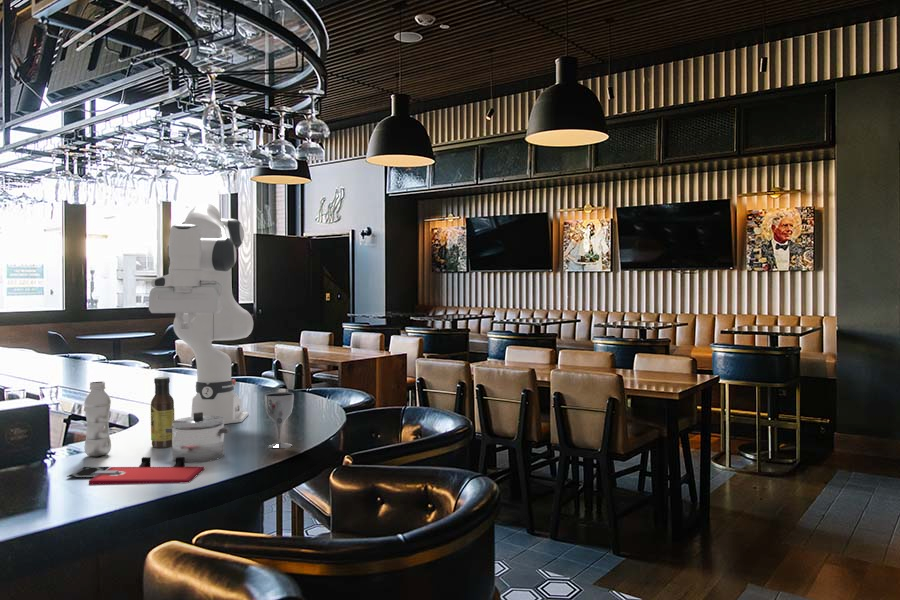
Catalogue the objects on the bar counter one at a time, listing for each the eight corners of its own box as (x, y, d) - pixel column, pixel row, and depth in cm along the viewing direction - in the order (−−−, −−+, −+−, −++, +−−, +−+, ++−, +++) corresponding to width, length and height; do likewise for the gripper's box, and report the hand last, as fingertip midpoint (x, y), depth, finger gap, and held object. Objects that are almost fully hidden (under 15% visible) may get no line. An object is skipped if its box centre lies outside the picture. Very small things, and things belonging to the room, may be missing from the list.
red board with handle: (87, 468, 165) (55, 486, 150) (87, 457, 165) (55, 474, 150) (208, 468, 167) (188, 486, 152) (208, 457, 167) (188, 474, 152)
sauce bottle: (154, 444, 192) (154, 376, 191) (177, 443, 193) (176, 375, 192) (148, 449, 185) (147, 378, 185) (171, 448, 186) (171, 378, 186)
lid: (185, 419, 183) (185, 408, 183) (231, 419, 182) (231, 408, 182) (162, 428, 170) (162, 417, 170) (211, 429, 169) (211, 417, 169)
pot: (181, 449, 184) (181, 419, 184) (239, 450, 183) (239, 420, 183) (156, 462, 170) (155, 429, 170) (219, 463, 169) (218, 430, 169)
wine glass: (286, 450, 183) (286, 396, 183) (260, 448, 185) (259, 395, 185) (298, 443, 191) (298, 392, 191) (273, 442, 193) (272, 391, 193)
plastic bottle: (106, 451, 182) (106, 380, 182) (114, 455, 177) (114, 382, 177) (81, 455, 178) (80, 382, 178) (88, 460, 173) (88, 384, 173)
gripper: (225, 280, 189) (226, 328, 189) (156, 281, 190) (157, 328, 190) (216, 280, 182) (217, 329, 182) (145, 280, 183) (145, 329, 184)
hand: (186, 329), depth 186 cm, fingers closed
